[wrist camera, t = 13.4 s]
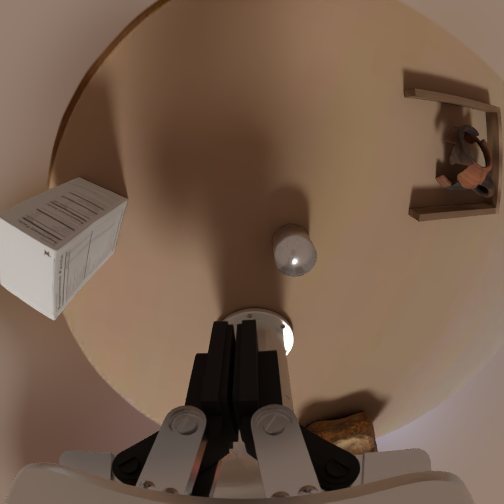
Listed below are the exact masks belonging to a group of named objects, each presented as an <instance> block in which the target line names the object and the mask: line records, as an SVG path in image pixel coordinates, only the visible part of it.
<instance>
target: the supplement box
mask: <svg viewBox="0 0 504 504" xmlns="http://www.w3.org/2000/svg"><path fill="white" fill-rule="evenodd" d="M127 200H128V199H127V198H125V197H123V196H120V195H118V194H116V193H114V192H111V191H109V190H107V189H104V188H102V187H100V186H98V185H96V184H93V183H91V182H89V181H87V180H84V179H82V178H80V177H78V178H76V179H73V180H71V181H68V182H66V183H63V184H61V185H59V186H56V187H54V188H51V189H49V190H47V191H45V192H43V193H40V194H38V195H36V196H34V197H31V198H29V199H27V200H25V201H24V202H21V203H19V204H17V205H15V206H13V207H11V208H10V209H7V210H6V211H3V212H2V213H0V282H1V285H3V286H4V287H5V288H6V289H7V290H8V291H10V292H11V293H13V294H14V295H16V296H17V297H19V298H20V299H21V300H23V301H24V302H26V303H27V304H29V305H30V306H32V307H33V308H34V309H36V310H37V311H39V312H41V313H42V314H44V315H45V316H47V317H49V318H50V319H52V320H56V318H57V317H58V316H59V314H60V313H61V312H62V311H63V309H64V308H65V307H66V306H67V305H68V303H69V302H70V301H71V300H72V299H73V297H74V296H75V295H76V294H77V293H78V291H79V290H80V289H81V288H82V287H83V285H84V284H85V283H86V282H87V281H88V280H89V279H90V278H91V277H92V276H93V275H94V274H95V273H96V271H97V270H98V269H99V268H100V267H101V266H102V265H103V264H104V263H105V262H106V261H107V260H108V259H109V257H110V256H111V255H112V254H113V253H114V250H115V246H116V242H117V238H118V234H119V230H120V226H121V222H122V218H123V215H124V211H125V208H126V204H127Z"/></svg>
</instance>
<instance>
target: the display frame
mask: <svg viewBox="0 0 504 504" xmlns="http://www.w3.org/2000/svg"><path fill="white" fill-rule="evenodd" d="M404 97H407V98H416V99H423V100H430V101H437V102H443V103H448V104H454V105H459V106H463V107H468V108H472V109H477V110H481V111H485V112H486V121H487V140H488V147H489V149H490V152H491V155H492V161H493V163H492V164H493V165H492V168H491V170H490V171H489V175H490V177H491V179H492V180H493V182H494V185H495V190H494V194H493V195H492V196H490V197H488V198H486V202H485V203H473V204H458V205H444V206H431V207H419V208H409V215H410V216H411V217H413V218H414V219H416V220H418V221H419V222H420V221H429V220H438V219H448V218H457V217H467V216H477V215H487V214H497V213H499V206H500V196H501V183H502V125H501V112H500V108H499V107H496V106H493V105H490V104H486V103H483V102H479V101H475V100H471V99H467V98H463V97H459V96H455V95H450V94H445V93H440V92H434V91H429V90H422V89H416V88H414V89H409V90H404Z"/></svg>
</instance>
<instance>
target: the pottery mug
mask: <svg viewBox="0 0 504 504" xmlns="http://www.w3.org/2000/svg"><path fill="white" fill-rule="evenodd" d="M463 133H465V135H464V140H465V141H467V142H468V143H470V144H473V143H474V142H477V143H478V145H479V146H480V148H481V150H482V152H483V155H484V158H485V163H486V167H482V166H480V165H479V164H477V163H476V162H475V161H474V160H473V159H472V157H471V156H470V154H469V153H468V151H467V148H466V146H465V144H464V140H463ZM478 135H479V133H478V132H477V130H476V129H474V128H473V127H471V126H469V125H464V126H461V127H453V128H452V129H451V130H450V133H449V135H448V136H447V137H446V138H445V140H444V142H449V143H451V144H453V145H456V146H455V147H454V148H453V149H452V152H451V155H450V157H449V160H450V164H451V165H453V164H456V163H457V164H462V165H466V166H467V167H466V168H465V169H464V170H463V171H461V172H459V173H458V175H457V180H458V181H456V182H455V183H451V182H450V181H449V180H448V179H447V178H446V176H445V175H444V174H442V175H440V176H437V177H436V180H437V181H438V183H439V184H440V185H441V186H443V187H444V188H445V189H447V190H450V191H453V190H469V189H472V190H473V191H475V192H476V193H477V194H478V195H480V196H482V197H486V198H488V197H490V196H492V195H493V194H494V190H495V185H494V182H493V180H492V179H491V177H490V175H489V171H490V170H491V168H492V165H493V164H492V163H493V161H492V155H491V152H490V149H489V147H488V145H487V143H486V141H485V140H484V139H483V140H481V141H480V140H479V139H478V138H477V137H476V136H478Z"/></svg>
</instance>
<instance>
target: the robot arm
mask: <svg viewBox="0 0 504 504" xmlns="http://www.w3.org/2000/svg"><path fill="white" fill-rule="evenodd" d="M293 339H294V337H293V331H292V328H291V326H290V324H289V323H288V321H287V320H286V319H285V318H284V317H282V316H281V315H279V314H278V313H275V312H273V311H271V310H266V309H261V308H249V309H243V310H239V311H237V312H234V313H232V314H230V315H229V316H227V317H226V318H225V319H224V320H223V321H216V322H214V323H213V328H212V334H211V339H210V345H209V350H208V353H197V354H196V356H195V360H194V365H193V369H192V374H191V378H190V383H189V388H188V392H187V397H186V402H185V406H179V407H177V408H175V409H172V410H171V411H170V412H169V413H168V414H167V416H166V417H165V419H164V421H163V424H162V426H161V428H160V430H159V431H158V432H156V433H154V434H153V435H151V436H149V437H148V438H146V439H144V440H142V441H140V442H139V443H137V444H135V445H134V446H131V447H130V448H128V449H126V450H124V451H122V452H121V453H119V454H118V455H113V454H112V453H107V452H106V453H105V452H87V451H75V450H71V451H66V452H64V453H63V454H62V455H61V457H60V460H59V464H53V463H33V464H29V465H26V466H25V467H23V468H22V469H21V470H20V471H19V473H18V474H17V476H16V477H15V479H14V481H13V483H12V485H11V488H10V490H9V492H8V495H7V498H6V500H5V503H4V504H474V501H473V499H472V497H471V494H470V492H469V490H468V488H467V487H466V485H465V484H464V482H463V481H462V480H461V479H460V478H459V477H458V476H457V475H455V474H453V473H450V472H442V471H431V462H430V458H429V455H428V454H427V453H426V452H425V451H424V450H421V449H414V448H413V449H406V450H397V451H387V452H370V453H364V455H353V454H351V453H350V452H348V451H346V450H344V449H342V448H340V447H338V446H336V445H334V444H333V443H331V442H329V441H327V440H325V439H323V438H322V437H320V436H318V435H316V434H314V433H313V432H311V431H309V430H308V429H306V428H304V427H302V426H301V425H299V423H298V421H297V418H296V416H295V414H294V409H293V401H292V394H291V386H290V378H289V371H288V364H287V357H286V355H287V354H288V353H289V351H290V350H291V348H292V345H293ZM229 451H230V452H231V453H232V454H233V455H234V456H235V457H236V459H223V457H224V456H226V455H227V454H228V453H229ZM222 459H223V460H222Z"/></svg>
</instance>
